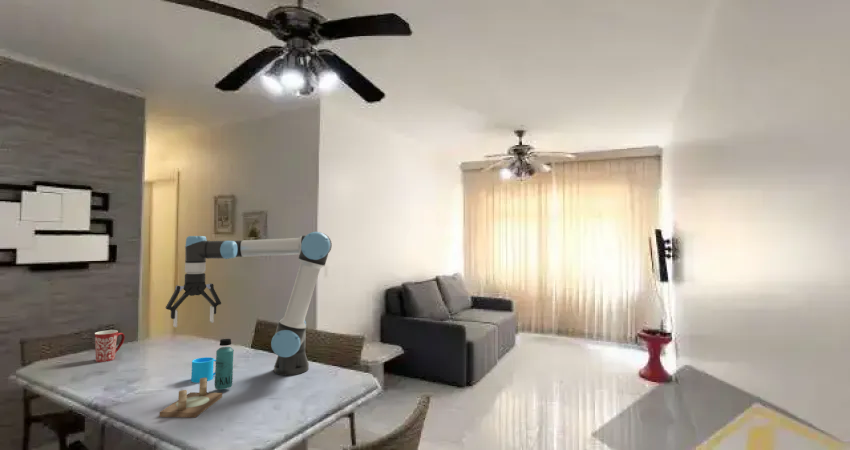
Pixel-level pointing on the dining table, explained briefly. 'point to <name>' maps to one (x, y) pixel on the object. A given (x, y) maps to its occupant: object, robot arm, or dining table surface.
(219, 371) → the beverage bottle
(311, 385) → the dining table surface
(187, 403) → the wooden board with pegs
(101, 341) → the mug
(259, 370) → the dining table surface
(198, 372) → the mug
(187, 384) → the dining table surface
